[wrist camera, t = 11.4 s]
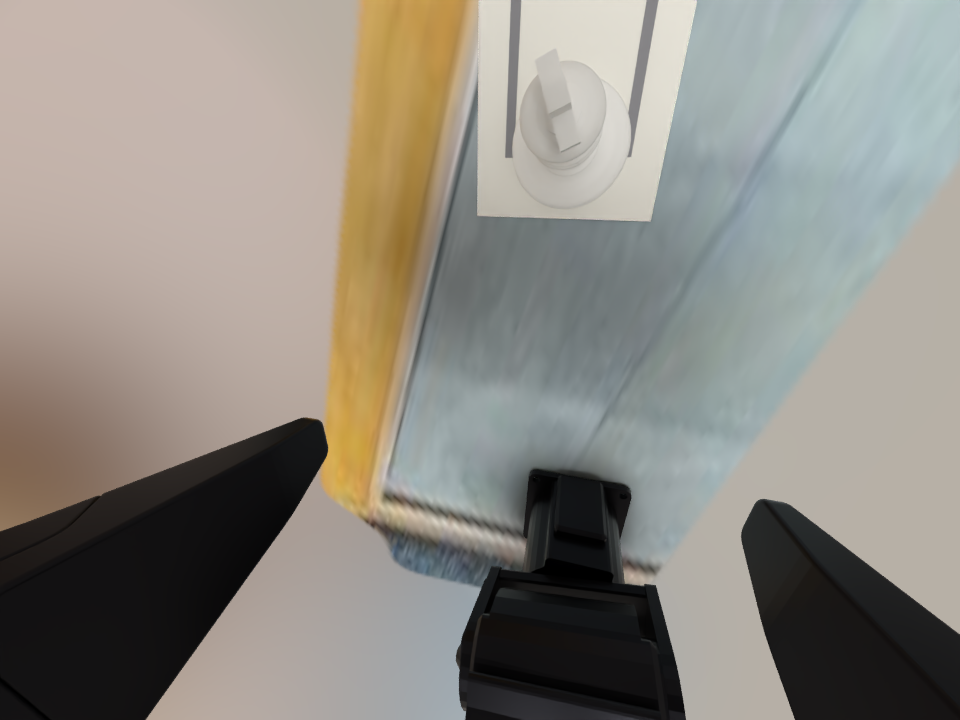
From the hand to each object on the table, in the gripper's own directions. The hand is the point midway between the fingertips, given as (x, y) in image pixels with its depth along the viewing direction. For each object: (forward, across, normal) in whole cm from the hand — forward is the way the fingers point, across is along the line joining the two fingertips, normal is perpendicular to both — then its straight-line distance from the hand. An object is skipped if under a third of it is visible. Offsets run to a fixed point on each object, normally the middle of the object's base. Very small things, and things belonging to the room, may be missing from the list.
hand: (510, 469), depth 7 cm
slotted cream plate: (+13, 0, -9) cm, 16 cm away
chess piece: (+13, 0, -7) cm, 14 cm away
